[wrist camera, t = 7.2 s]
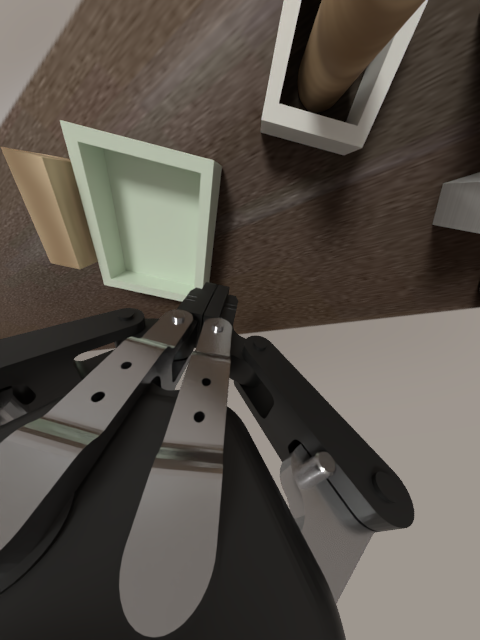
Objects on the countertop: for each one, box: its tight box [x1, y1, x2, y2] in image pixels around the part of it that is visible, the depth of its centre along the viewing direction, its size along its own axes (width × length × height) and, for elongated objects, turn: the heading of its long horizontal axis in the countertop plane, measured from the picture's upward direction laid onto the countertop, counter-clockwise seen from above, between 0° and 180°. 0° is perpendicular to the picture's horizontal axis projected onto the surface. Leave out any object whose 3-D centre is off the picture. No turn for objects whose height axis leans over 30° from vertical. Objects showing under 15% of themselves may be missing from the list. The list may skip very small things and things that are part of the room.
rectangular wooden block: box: [1, 147, 98, 269], centre depth 19 cm, size 3×9×6 cm, turn 169°
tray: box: [60, 120, 222, 302], centre depth 20 cm, size 12×14×4 cm
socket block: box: [261, 0, 428, 155], centre depth 13 cm, size 8×8×4 cm
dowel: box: [297, 0, 425, 113], centre depth 9 cm, size 4×4×12 cm
